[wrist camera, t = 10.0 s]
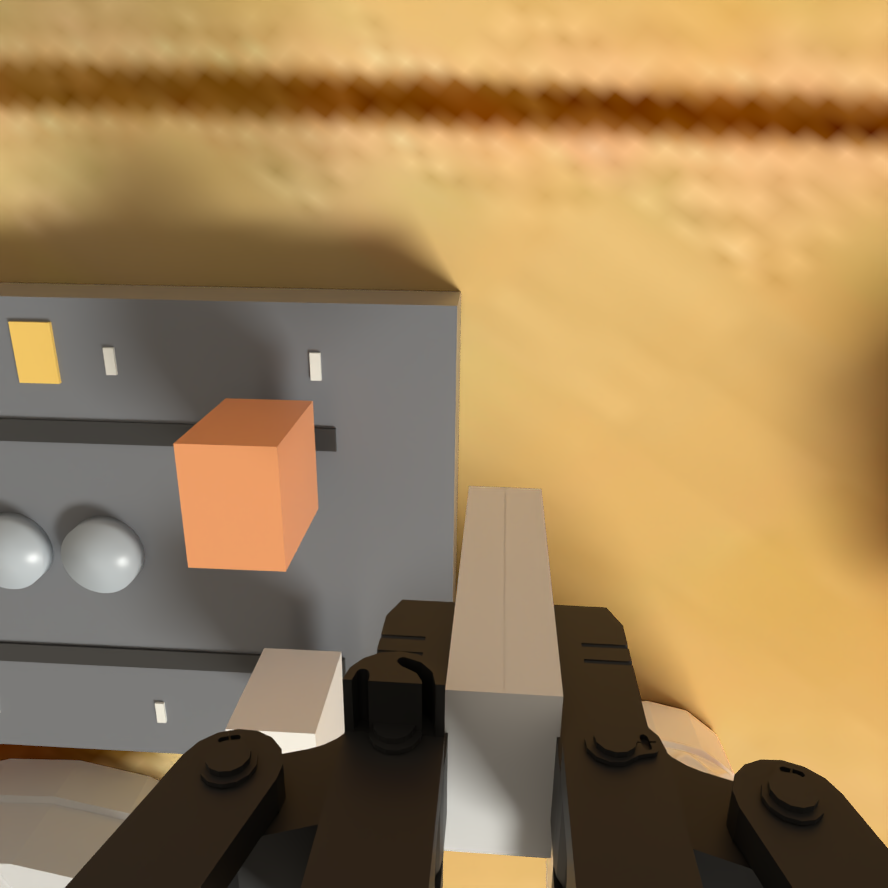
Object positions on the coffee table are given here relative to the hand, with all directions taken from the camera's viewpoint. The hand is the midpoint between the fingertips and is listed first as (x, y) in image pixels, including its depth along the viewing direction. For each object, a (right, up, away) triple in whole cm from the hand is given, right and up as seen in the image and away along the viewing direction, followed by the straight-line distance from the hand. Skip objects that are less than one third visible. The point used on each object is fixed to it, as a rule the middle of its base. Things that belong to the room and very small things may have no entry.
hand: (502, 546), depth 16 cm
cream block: (-6, -5, +9) cm, 12 cm away
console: (-11, 0, +10) cm, 15 cm away
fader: (-6, +2, +6) cm, 9 cm away
